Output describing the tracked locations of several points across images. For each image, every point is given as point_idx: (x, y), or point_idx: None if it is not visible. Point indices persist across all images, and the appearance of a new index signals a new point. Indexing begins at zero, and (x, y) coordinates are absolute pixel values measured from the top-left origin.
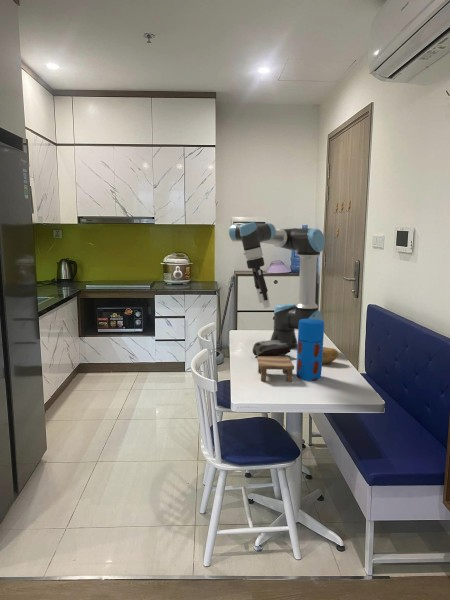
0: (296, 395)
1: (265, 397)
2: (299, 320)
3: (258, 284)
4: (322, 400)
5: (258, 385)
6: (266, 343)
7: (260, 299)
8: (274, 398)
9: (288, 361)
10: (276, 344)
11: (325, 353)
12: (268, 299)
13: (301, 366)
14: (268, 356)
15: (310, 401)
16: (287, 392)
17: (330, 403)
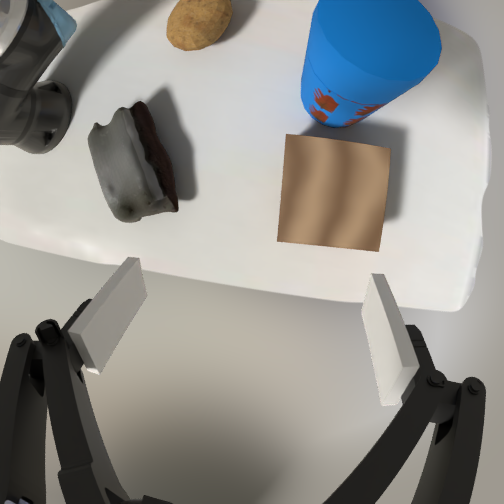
0: (453, 178)
1: (453, 251)
2: (371, 73)
3: (83, 399)
4: (476, 134)
5: (388, 251)
6: (117, 179)
7: (134, 301)
8: (460, 233)
9: (342, 149)
10: (131, 146)
11: (225, 10)
12: (399, 315)
13: (365, 117)
14: (281, 203)
15: (479, 162)
16: (437, 192)
17: (487, 126)
